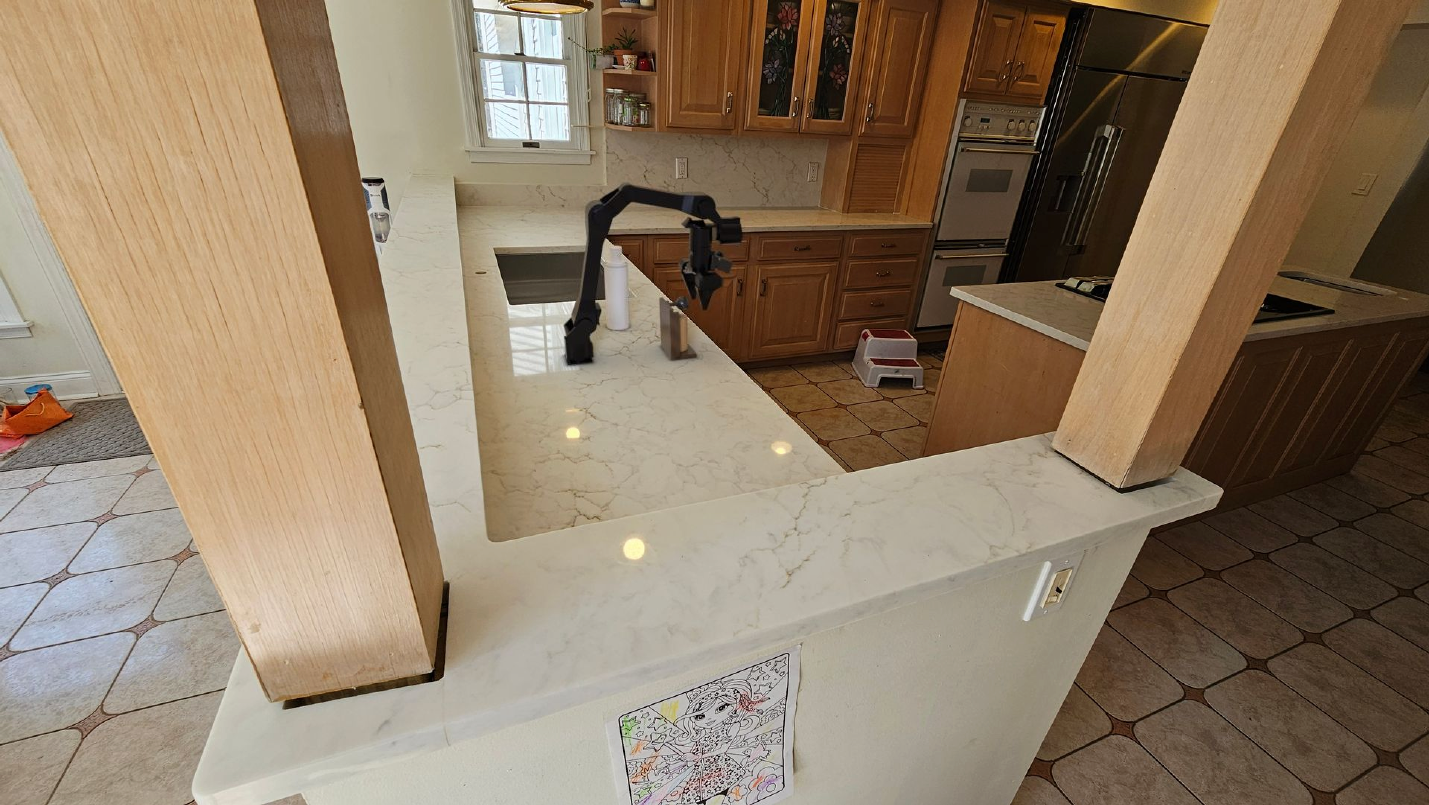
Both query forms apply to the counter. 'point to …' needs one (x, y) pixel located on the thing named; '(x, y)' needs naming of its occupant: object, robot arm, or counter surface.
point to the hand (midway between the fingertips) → (698, 304)
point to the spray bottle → (616, 290)
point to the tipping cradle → (673, 329)
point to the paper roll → (683, 332)
